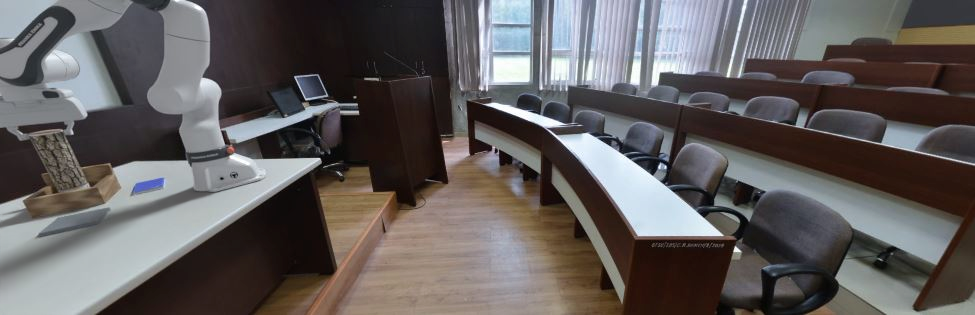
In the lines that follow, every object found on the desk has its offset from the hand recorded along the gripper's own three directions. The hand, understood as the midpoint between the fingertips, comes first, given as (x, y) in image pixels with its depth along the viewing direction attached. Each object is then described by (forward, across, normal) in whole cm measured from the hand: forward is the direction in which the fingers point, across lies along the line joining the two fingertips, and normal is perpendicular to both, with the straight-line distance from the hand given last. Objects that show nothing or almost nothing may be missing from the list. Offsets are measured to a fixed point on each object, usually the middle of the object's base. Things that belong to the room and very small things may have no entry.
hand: (47, 137), depth 104 cm
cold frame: (+23, 0, 0) cm, 23 cm away
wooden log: (+23, 0, 0) cm, 23 cm away
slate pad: (+23, +6, -22) cm, 33 cm away
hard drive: (+24, +18, +2) cm, 30 cm away
